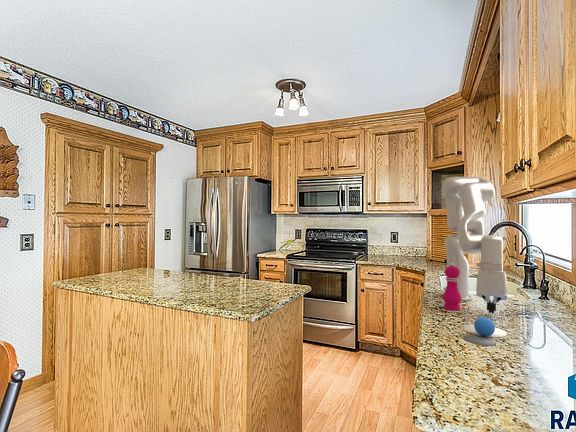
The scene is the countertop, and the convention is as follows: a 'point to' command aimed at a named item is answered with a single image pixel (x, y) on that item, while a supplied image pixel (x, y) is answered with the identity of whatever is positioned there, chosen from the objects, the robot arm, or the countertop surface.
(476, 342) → the charcoal disc
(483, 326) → the blue ball
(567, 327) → the countertop surface
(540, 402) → the countertop surface
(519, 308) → the countertop surface
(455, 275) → the pepper mill
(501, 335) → the white disc
